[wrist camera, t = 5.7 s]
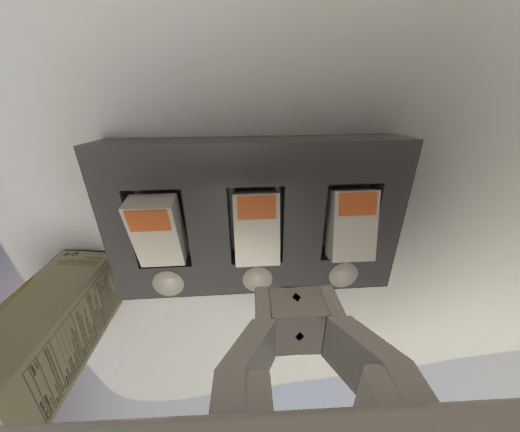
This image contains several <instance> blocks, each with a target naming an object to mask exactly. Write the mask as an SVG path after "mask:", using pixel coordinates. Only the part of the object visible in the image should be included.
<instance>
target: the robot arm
mask: <svg viewBox="0 0 520 432" xmlns="http://www.w3.org/2000/svg"><path fill="white" fill-rule="evenodd" d="M304 354H322V355H321V356H322V357H323V358H324V359H325V360H326V361H327V362H328V364H329V365H330V366H331V367H332V368H333V369H334V370H335V372H336V373H337V374H338V375H339V376H340V377H341V378H342V379H343V381H344V382H345V383H346V384H347V385H348V386H349V388H350V389H351V390H352V391H353V392H354V393H355V394H356V398H355V402H354V405H353V407H342V408H323V409H303V410H284V411H273V400H272V389H271V379H270V373H269V370H270V368H271V366H272V363H273V361H274V359H275V356H285V355H304ZM0 432H520V398H507V399H488V400H469V401H450V402H439V400H438V398H437V397H436V395H435V394H434V392H433V391H432V389H431V388H430V386H429V385H428V383H427V381H426V380H425V378H424V377H423V375H422V374H421V372H420V370H419V369H418V367H417V366H416V364H415V363H414V361H413V360H411V359H410V358H408V357H407V356H406V355H404V354H403V353H402V352H400V351H399V350H397V349H396V348H395V347H393V346H392V345H390V344H389V343H388V342H386V341H385V340H384V339H382V338H381V337H379V336H378V335H377V334H375V333H374V332H372V331H371V330H370V329H368V328H367V327H365V326H364V325H363V324H361V323H360V322H359V321H357V320H356V319H354V318H353V317H352V316H346V313H345V311H344V309H343V307H342V305H341V303H340V301H339V299H338V297H337V295H336V292H335V290H334V288H333V286H332V285H331V284H325V285H310V286H268V287H255V319H252V320H251V322H250V323H249V324H248V326H247V327H246V328H245V330H244V331H243V332H242V334H241V335H240V336H239V338H238V339H237V340H236V342H235V343H234V344H233V346H232V347H231V348H230V350H229V351H228V352H227V354H226V355H225V356H224V358H223V359H222V360H221V362H220V363H219V364H218V366H217V367H216V368H215V370H214V377H213V384H212V392H211V401H210V409H209V415H190V416H171V417H153V418H135V419H115V420H96V421H78V422H59V423H40V424H21V425H2V426H0Z"/></svg>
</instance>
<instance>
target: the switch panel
mask: <svg viewBox="0 0 520 432" xmlns="http://www.w3.org/2000/svg"><path fill="white" fill-rule="evenodd" d="M422 144H423V139H418V138H413V137H408V136H403V135H397V134H356V135H300V136H244V137H187V138H131V139H101V140H97V141H93V142H89V143H85V144H81V145H77V146H73V147H74V150H75V153H76V156H77V160H78V163H79V166H80V169H81V173H82V176H83V179H84V182H85V186H86V189H87V192H88V195H89V199H90V202H91V205H92V209H93V212H94V215H95V218H96V222H97V225H98V228H99V231H100V235H101V238H102V241H103V244H104V248H105V251H106V254H107V257H108V261H109V264H110V267H111V270H112V274H113V277H114V280H115V283H116V287H117V290H118V293H119V296H120V300H133V299H152V298H171V297H190V296H210V295H229V294H248V293H255V287H268V286H310V285H325V284H331V285H332V286H333V288H334V289H344V288H364V287H383V286H387V285H388V281H389V277H390V273H391V269H392V265H393V261H394V257H395V253H396V248H397V244H398V240H399V236H400V232H401V228H402V224H403V220H404V216H405V212H406V208H407V204H408V200H409V196H410V192H411V188H412V184H413V180H414V176H415V172H416V168H417V164H418V160H419V156H420V152H421V148H422ZM338 188H373V189H378V190H381V197H380V209H379V222H378V235H377V247H376V260H375V261H367V262H345V263H332V262H331V261H330V260H329V259H328V257H327V256H326V255H325V230H326V205H327V195H328V189H338ZM267 190H277V191H278V192H279V193H280V265H279V266H258V267H236V264H235V243H234V221H233V200H232V194H233V191H267ZM162 193H177V196H178V201H179V205H180V210H181V214H182V219H183V223H184V228H185V232H186V237H187V241H188V246H189V252H188V256H187V260H186V264H185V265H184V266H162V267H141V265H140V263H139V260H138V258H137V255H136V253H135V250H134V248H133V245H132V243H131V240H130V238H129V235H128V233H127V230H126V228H125V225H124V223H123V220H122V218H121V215H120V213H119V210H118V209H119V208H120V206H121V205H122V203H123V202H124V200H125V199H126V198H127V196H128V195H129V194H162Z"/></svg>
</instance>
